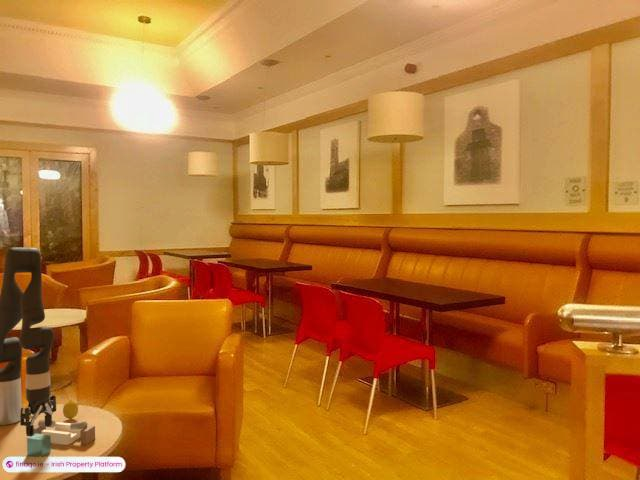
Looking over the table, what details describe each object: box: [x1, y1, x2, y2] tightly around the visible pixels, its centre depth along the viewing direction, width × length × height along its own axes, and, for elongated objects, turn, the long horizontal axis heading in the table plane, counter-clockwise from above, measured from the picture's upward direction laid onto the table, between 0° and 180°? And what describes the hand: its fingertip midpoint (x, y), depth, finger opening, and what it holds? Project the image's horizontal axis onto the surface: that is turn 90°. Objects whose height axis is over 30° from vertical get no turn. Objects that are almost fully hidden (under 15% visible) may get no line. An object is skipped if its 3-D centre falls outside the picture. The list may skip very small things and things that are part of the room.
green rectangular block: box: [26, 433, 52, 458], centre depth 182 cm, size 6×4×6 cm, turn 78°
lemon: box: [62, 399, 79, 420], centre depth 211 cm, size 6×6×8 cm
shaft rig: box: [34, 419, 96, 446], centre depth 194 cm, size 23×9×7 cm, turn 78°
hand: (39, 430), depth 182 cm, fingers open, 8 cm apart
